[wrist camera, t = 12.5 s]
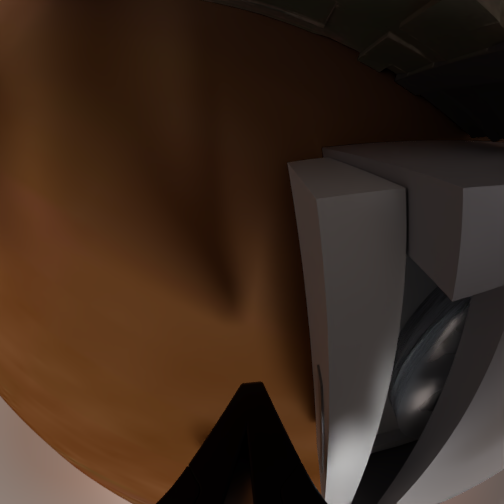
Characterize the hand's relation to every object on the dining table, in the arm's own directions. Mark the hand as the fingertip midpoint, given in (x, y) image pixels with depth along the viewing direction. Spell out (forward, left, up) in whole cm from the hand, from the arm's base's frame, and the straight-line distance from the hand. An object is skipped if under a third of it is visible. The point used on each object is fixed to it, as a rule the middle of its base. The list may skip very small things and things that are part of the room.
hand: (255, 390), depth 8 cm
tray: (-7, 0, -1) cm, 7 cm away
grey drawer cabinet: (-8, 0, -2) cm, 9 cm away
